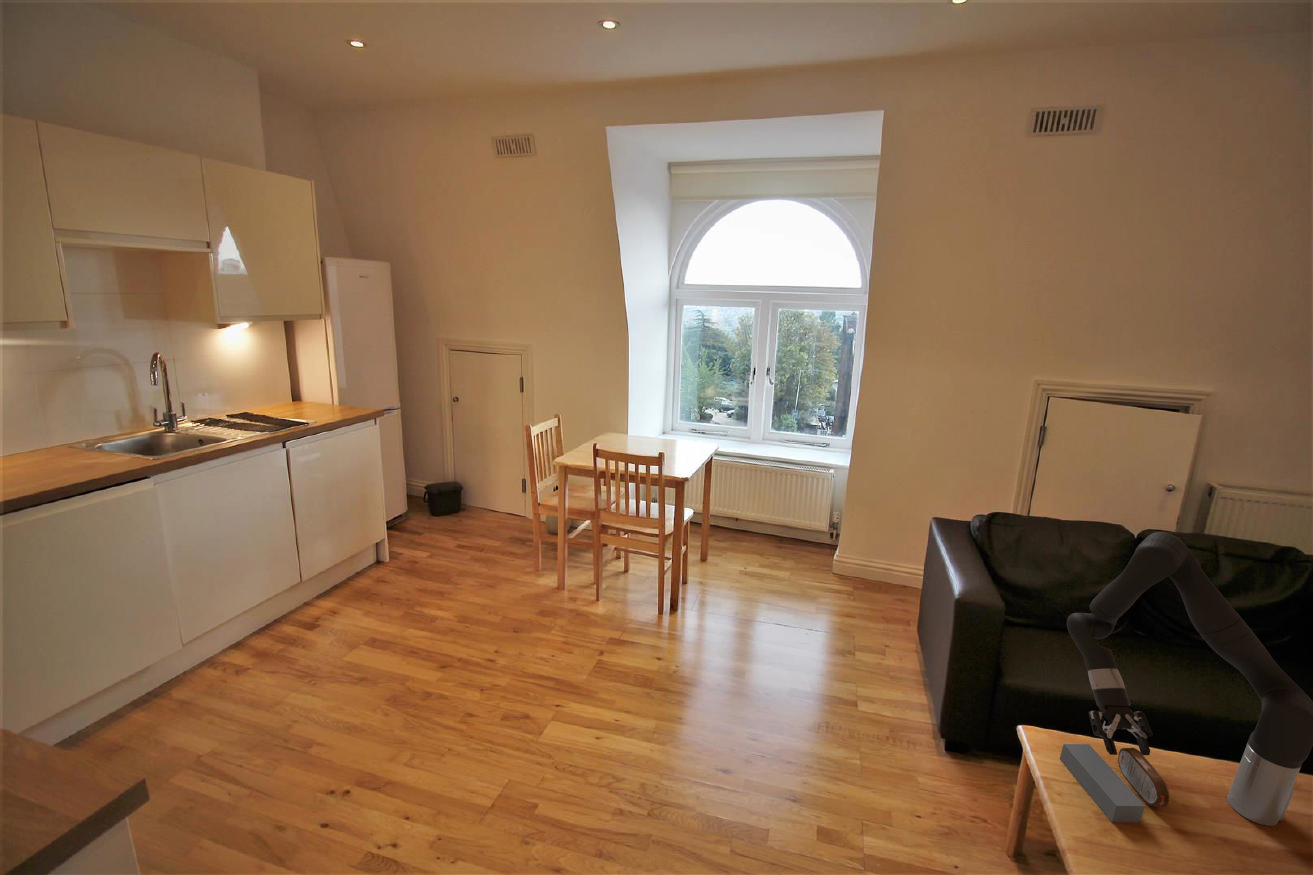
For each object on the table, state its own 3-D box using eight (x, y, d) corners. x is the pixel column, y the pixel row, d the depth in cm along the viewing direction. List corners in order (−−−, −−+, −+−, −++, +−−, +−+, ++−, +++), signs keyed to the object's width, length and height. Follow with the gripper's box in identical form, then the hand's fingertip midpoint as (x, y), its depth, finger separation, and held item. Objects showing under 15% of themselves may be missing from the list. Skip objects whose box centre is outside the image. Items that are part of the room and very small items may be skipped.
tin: (1165, 815, 148) (1175, 788, 145) (1152, 814, 148) (1161, 787, 145) (1124, 765, 162) (1132, 740, 159) (1112, 765, 162) (1119, 739, 160)
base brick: (1085, 759, 164) (1089, 744, 162) (1140, 822, 146) (1145, 805, 144) (1059, 758, 164) (1063, 743, 162) (1111, 822, 145) (1116, 805, 144)
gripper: (1091, 686, 162) (1113, 754, 154) (1144, 686, 162) (1167, 755, 154) (1073, 689, 168) (1093, 754, 161) (1124, 689, 169) (1146, 755, 161)
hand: (1129, 754), depth 157 cm, fingers open, 8 cm apart
